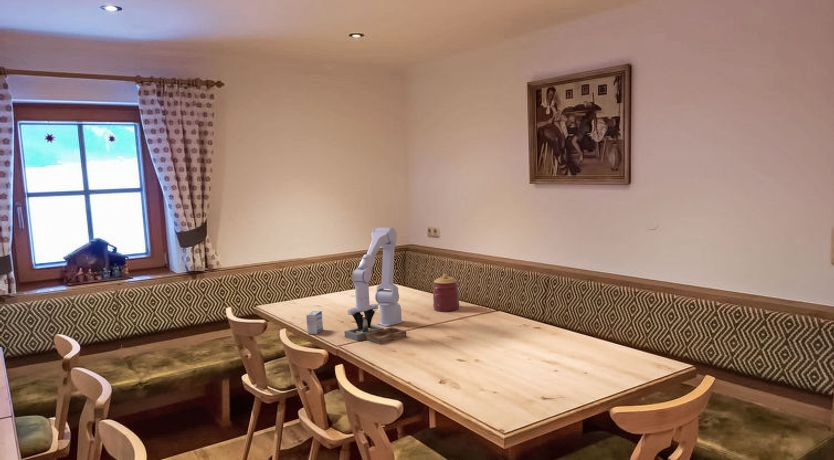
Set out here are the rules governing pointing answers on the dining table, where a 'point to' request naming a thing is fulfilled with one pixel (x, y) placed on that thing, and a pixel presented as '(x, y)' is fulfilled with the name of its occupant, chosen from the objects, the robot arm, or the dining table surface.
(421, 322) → the dining table surface
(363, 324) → the cell
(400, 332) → the shallow wooden tray
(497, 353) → the dining table surface
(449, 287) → the canister
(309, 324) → the medicine box
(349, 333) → the grey tray with pegs
